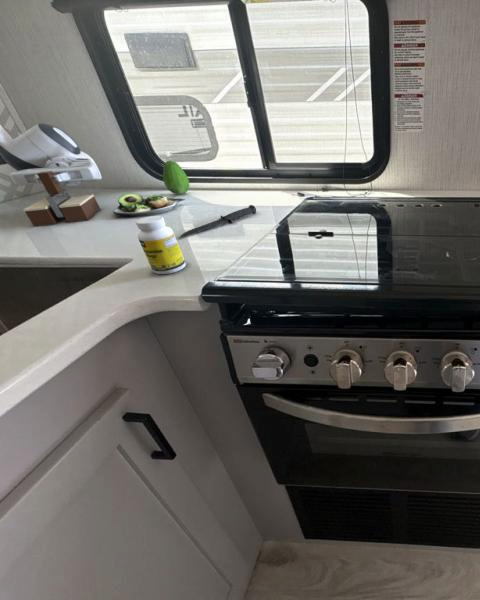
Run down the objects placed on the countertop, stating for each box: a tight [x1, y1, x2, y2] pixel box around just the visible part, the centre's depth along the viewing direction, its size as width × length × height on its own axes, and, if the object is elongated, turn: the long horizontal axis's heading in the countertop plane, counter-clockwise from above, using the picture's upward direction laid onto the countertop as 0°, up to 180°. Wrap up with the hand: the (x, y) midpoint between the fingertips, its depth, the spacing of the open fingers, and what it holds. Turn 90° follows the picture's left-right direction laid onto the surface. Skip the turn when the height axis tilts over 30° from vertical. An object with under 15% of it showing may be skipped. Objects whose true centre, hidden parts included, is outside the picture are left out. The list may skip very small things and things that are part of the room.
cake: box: [22, 193, 101, 227], centre depth 102 cm, size 12×13×5 cm
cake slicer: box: [37, 171, 72, 218], centre depth 99 cm, size 10×2×12 cm, turn 23°
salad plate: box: [113, 192, 186, 218], centre depth 109 cm, size 19×18×5 cm
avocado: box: [162, 160, 190, 196], centre depth 123 cm, size 8×8×12 cm
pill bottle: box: [135, 215, 187, 275], centre depth 69 cm, size 6×6×11 cm
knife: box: [179, 204, 257, 239], centre depth 95 cm, size 24×5×3 cm, turn 143°
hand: (47, 179), depth 96 cm, fingers closed on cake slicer, 2 cm apart
